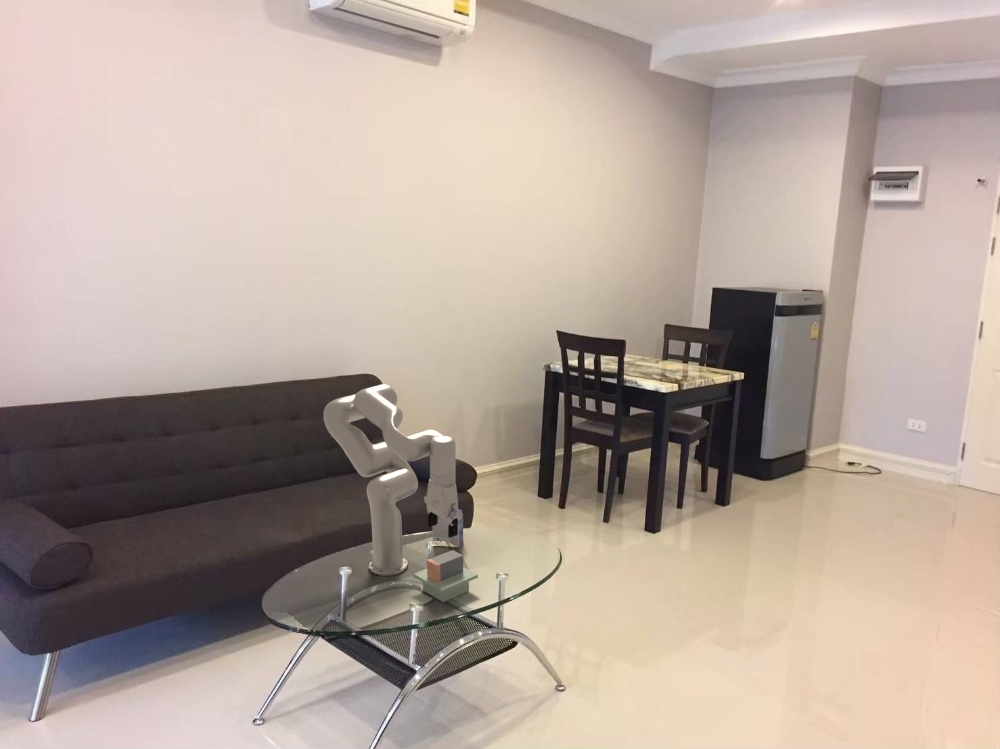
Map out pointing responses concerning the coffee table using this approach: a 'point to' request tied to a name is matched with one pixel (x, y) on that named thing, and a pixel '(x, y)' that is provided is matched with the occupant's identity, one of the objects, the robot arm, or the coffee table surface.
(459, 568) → the block
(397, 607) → the coffee table surface
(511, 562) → the coffee table surface
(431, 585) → the stand
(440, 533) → the ink cartridge box
